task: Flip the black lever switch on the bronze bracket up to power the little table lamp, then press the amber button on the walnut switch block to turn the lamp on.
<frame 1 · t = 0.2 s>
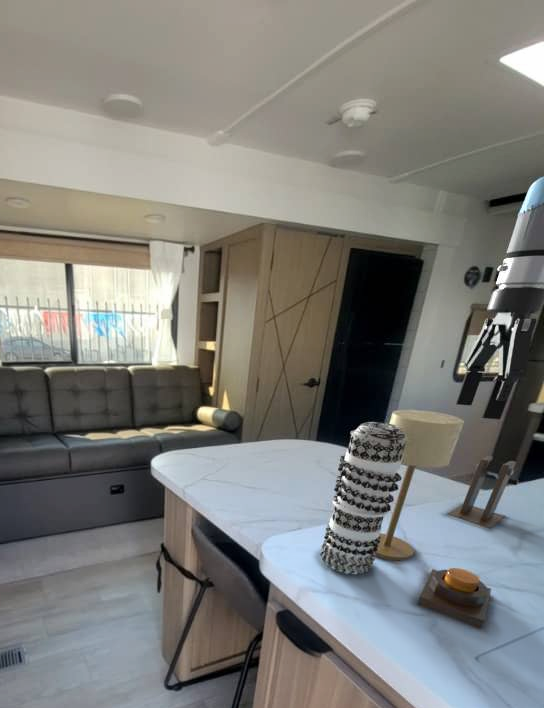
hand: (475, 411, 79), 24 cm above the table, tool pointing down, fingers open, 13 cm apart
button block: (451, 603, 63), on the table
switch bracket: (473, 519, 90), on the table
lamp: (384, 551, 77), on the table
decorative candle: (343, 566, 72), on the table
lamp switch: (497, 473, 88), point 10 cm above the table, hinge at -25.0°
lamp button: (461, 580, 61), point 4 cm above the table, slide at 0.1 cm
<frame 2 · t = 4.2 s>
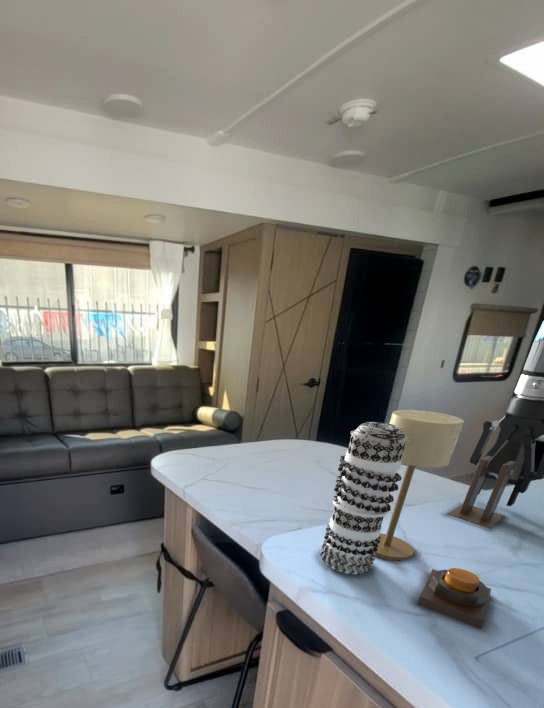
hand: (492, 499, 94), 3 cm above the table, tool pointing down, fingers closed on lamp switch, 6 cm apart
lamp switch: (497, 473, 88), point 10 cm above the table, hinge at -25.0°, touching gripper
everything else where it was.
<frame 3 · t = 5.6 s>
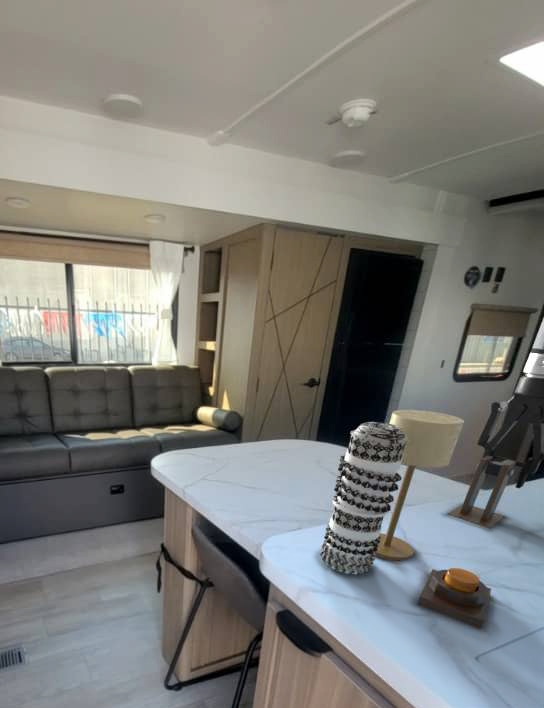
hand: (500, 481, 93), 7 cm above the table, tool pointing down, fingers closed on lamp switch, 6 cm apart
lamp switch: (501, 465, 87), point 12 cm above the table, hinge at -2.3°, touching gripper
everything else where it was.
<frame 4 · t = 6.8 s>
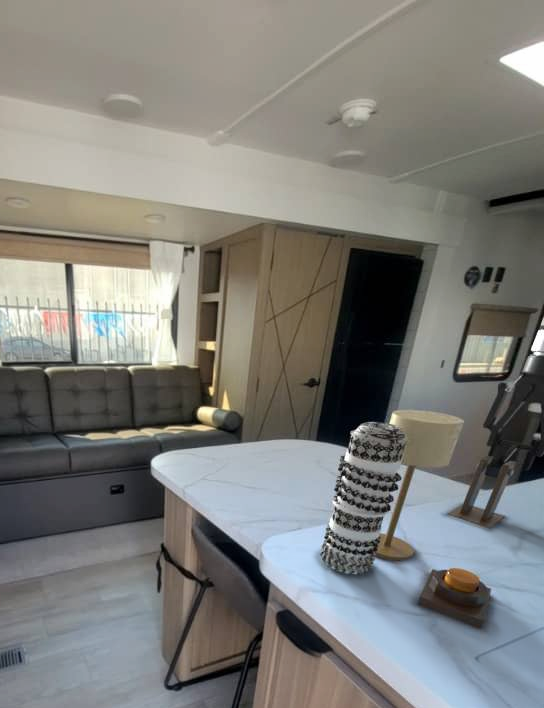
hand: (507, 464, 90), 11 cm above the table, tool pointing down, fingers closed on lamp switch, 6 cm apart
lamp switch: (504, 457, 86), point 14 cm above the table, hinge at 20.6°, touching gripper
everything else where it was.
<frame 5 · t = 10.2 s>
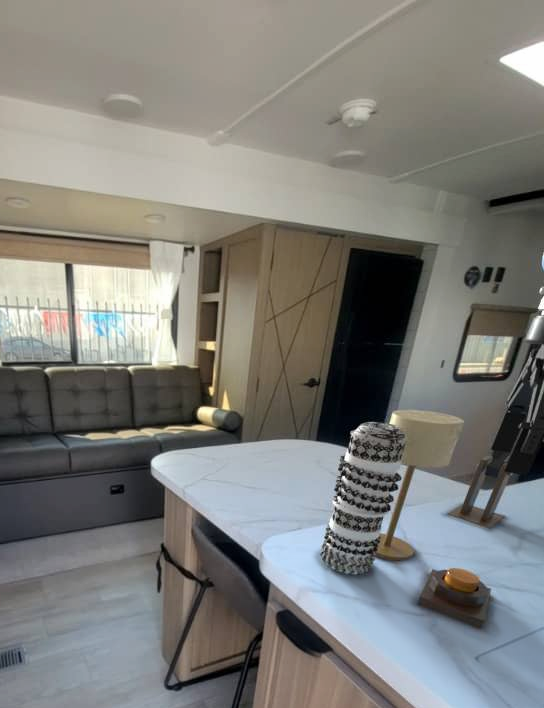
hand: (506, 461, 65), 19 cm above the table, tool pointing down, fingers open, 13 cm apart
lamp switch: (504, 457, 86), point 14 cm above the table, hinge at 20.8°
everything else where it was.
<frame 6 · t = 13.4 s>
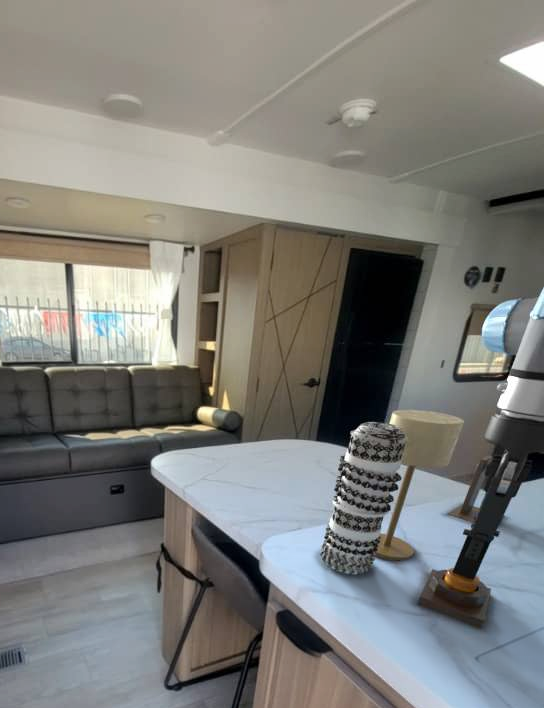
hand: (463, 573, 60), 6 cm above the table, tool pointing down, fingers closed
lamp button: (461, 580, 61), point 4 cm above the table, slide at 0.1 cm, touching gripper
everything else where it was.
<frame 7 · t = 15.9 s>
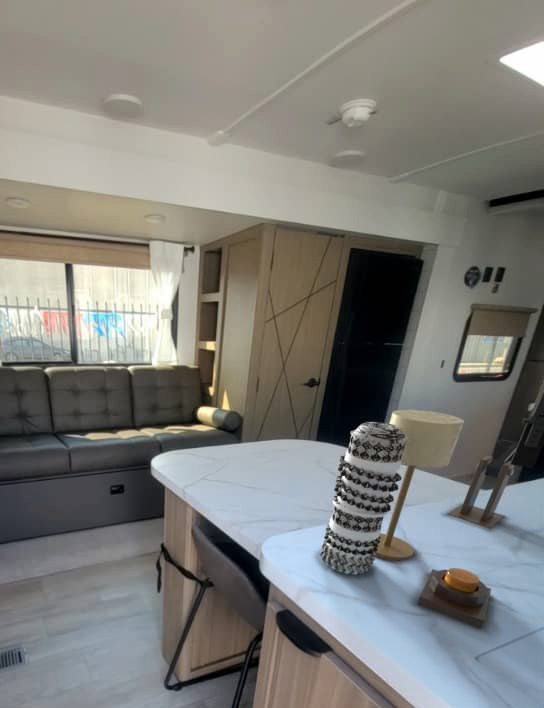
hand: (521, 465, 63), 19 cm above the table, tool pointing down, fingers closed
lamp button: (461, 580, 61), point 4 cm above the table, slide at 0.1 cm
everything else where it was.
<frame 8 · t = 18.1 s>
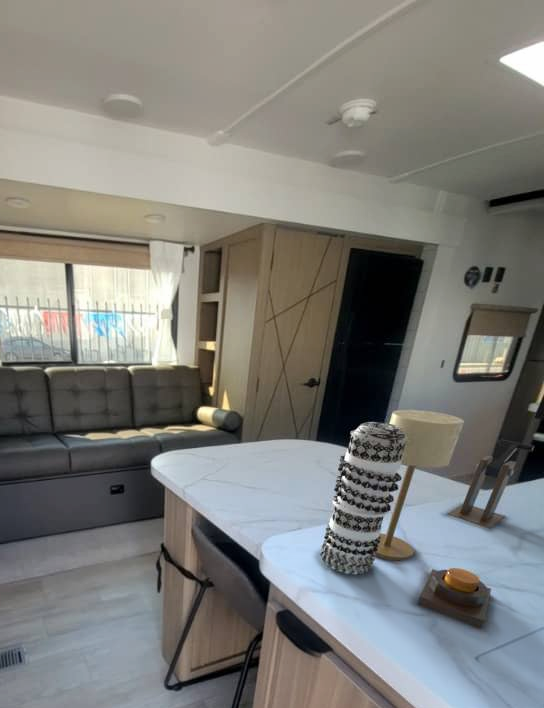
hand: (543, 418, 72), 24 cm above the table, tool pointing down, fingers closed
nothing on the table moved.
at the end: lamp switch at +21° (first picture: -25°); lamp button pushed in 1.0 cm at the most during the clip, back to where it started at the end; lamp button slide at 0.1 cm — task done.
